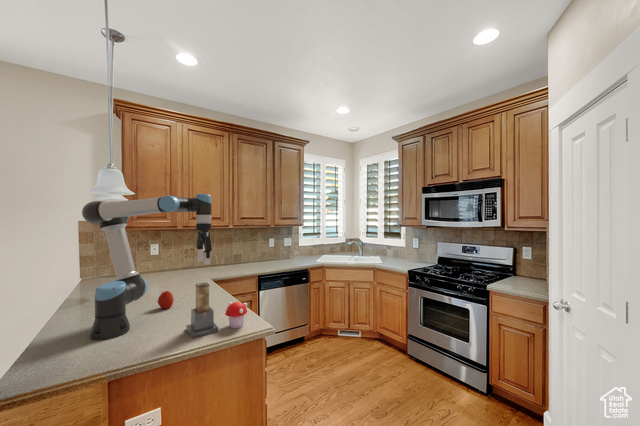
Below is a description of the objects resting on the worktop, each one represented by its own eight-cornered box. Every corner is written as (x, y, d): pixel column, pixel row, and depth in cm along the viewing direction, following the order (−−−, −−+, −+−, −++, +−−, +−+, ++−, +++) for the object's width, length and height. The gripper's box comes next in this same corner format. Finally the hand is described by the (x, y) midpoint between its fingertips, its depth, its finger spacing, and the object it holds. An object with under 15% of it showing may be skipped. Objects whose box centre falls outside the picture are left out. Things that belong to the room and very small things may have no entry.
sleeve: (191, 338, 124) (191, 316, 124) (186, 329, 133) (186, 309, 133) (218, 331, 131) (218, 310, 131) (211, 323, 140) (211, 304, 140)
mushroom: (251, 324, 140) (252, 300, 140) (235, 332, 130) (235, 307, 130) (237, 320, 145) (237, 297, 145) (220, 327, 136) (220, 303, 136)
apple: (155, 310, 159) (155, 292, 160) (162, 306, 168) (162, 288, 168) (169, 310, 160) (169, 292, 160) (176, 305, 168) (176, 288, 168)
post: (197, 329, 128) (197, 286, 129) (195, 325, 132) (195, 283, 133) (209, 326, 131) (209, 284, 132) (206, 322, 136) (206, 282, 136)
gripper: (218, 223, 137) (218, 265, 136) (204, 222, 156) (204, 259, 156) (202, 223, 132) (202, 267, 132) (190, 222, 151) (190, 260, 151)
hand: (203, 262), depth 144 cm, fingers open, 13 cm apart
